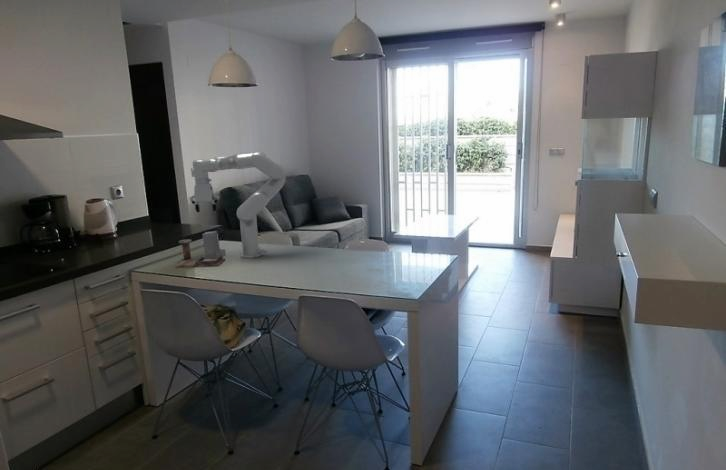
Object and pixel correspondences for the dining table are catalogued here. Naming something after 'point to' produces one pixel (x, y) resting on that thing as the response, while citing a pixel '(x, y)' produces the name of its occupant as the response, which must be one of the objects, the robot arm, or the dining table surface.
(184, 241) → the bobbin
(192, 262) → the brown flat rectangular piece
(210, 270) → the dining table surface
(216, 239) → the skincare box
